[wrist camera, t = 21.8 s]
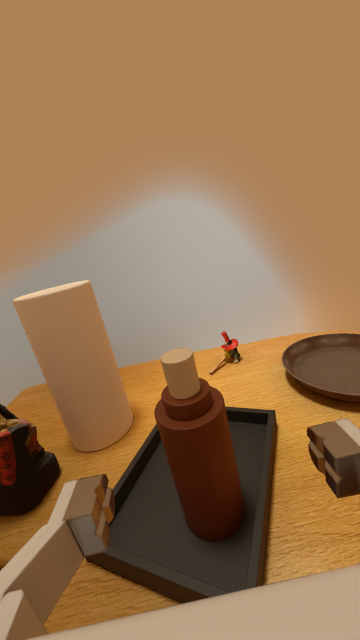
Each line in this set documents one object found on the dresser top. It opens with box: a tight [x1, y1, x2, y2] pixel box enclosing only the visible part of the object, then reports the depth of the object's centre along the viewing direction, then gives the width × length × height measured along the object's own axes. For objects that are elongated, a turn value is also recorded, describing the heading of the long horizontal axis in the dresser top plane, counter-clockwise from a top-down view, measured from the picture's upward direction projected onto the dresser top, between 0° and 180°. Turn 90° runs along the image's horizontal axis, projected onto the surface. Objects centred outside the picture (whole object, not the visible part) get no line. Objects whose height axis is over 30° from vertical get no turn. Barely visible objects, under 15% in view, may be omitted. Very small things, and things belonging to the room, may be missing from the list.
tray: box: [85, 407, 277, 604], centre depth 31 cm, size 22×17×3 cm
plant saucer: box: [282, 333, 360, 402], centre depth 44 cm, size 21×21×3 cm
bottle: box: [154, 348, 245, 542], centre depth 24 cm, size 6×6×18 cm
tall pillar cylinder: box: [13, 280, 133, 452], centre depth 41 cm, size 11×11×25 cm
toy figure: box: [209, 331, 240, 374], centre depth 57 cm, size 10×4×7 cm
